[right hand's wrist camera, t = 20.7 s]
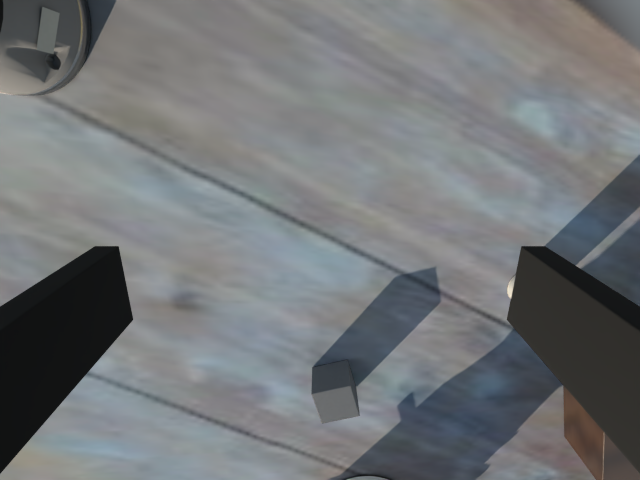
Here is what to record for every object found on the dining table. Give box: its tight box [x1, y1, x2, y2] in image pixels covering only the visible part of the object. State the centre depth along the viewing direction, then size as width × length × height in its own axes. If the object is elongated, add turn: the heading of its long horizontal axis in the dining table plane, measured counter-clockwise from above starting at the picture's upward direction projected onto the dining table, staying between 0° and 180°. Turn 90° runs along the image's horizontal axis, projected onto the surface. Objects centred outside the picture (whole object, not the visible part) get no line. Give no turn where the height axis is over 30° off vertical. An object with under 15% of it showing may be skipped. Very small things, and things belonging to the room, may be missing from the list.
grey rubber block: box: [312, 360, 360, 424], centre depth 49 cm, size 5×5×5 cm
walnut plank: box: [564, 386, 640, 480], centre depth 47 cm, size 24×5×8 cm, turn 13°
